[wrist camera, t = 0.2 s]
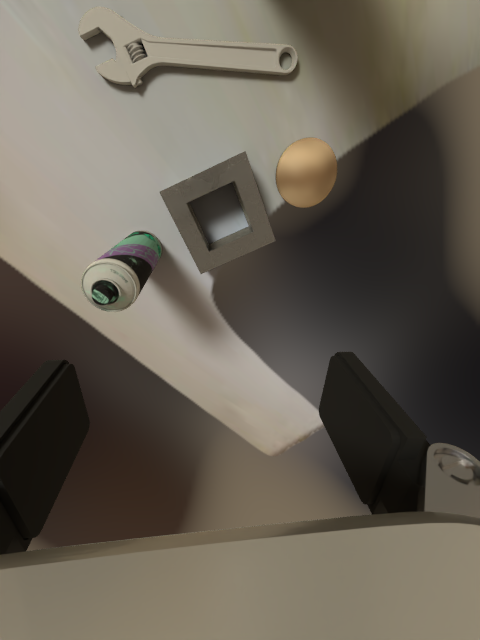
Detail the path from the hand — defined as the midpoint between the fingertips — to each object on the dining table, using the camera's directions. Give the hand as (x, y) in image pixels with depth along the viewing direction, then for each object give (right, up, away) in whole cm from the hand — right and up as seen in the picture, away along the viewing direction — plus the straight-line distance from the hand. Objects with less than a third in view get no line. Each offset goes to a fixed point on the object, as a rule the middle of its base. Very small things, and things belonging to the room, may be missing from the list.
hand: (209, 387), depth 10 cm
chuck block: (-2, +19, +31) cm, 37 cm away
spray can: (-14, +14, +33) cm, 38 cm away
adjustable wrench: (-5, +34, +24) cm, 42 cm away
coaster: (+11, +24, +30) cm, 40 cm away
